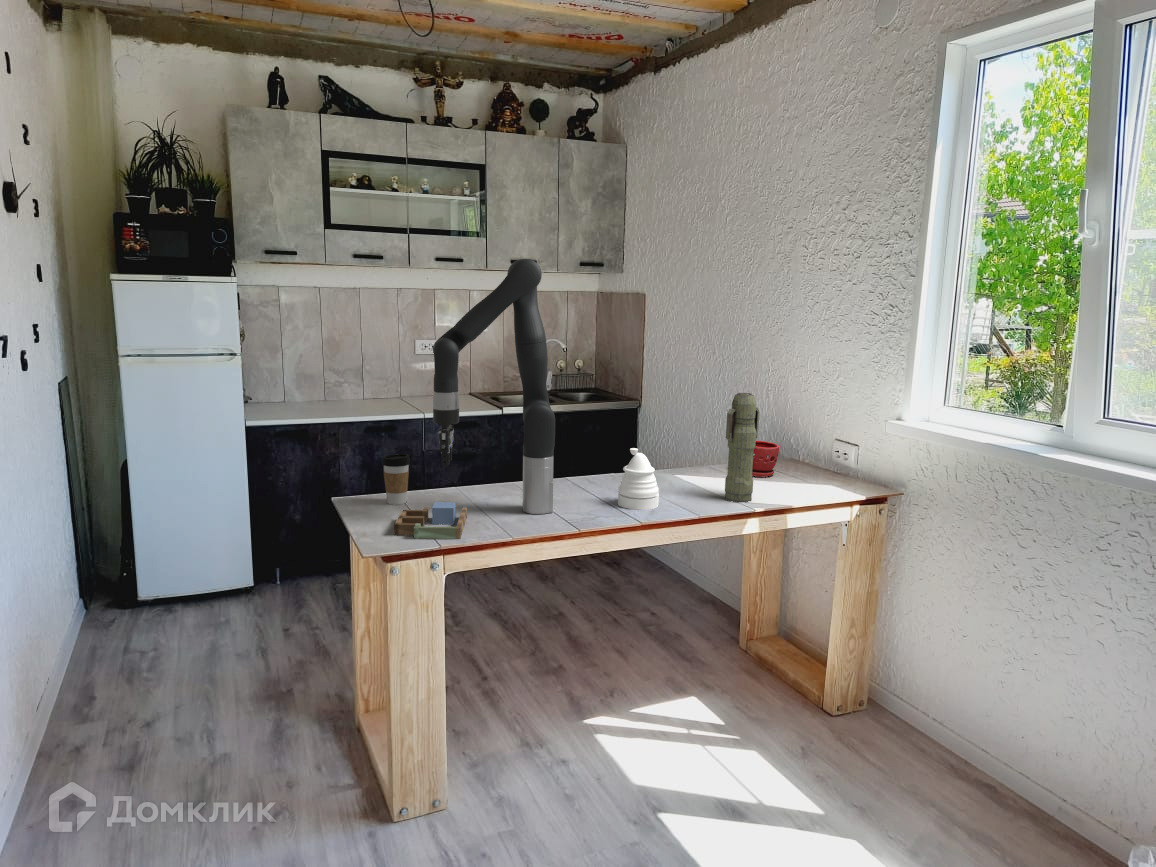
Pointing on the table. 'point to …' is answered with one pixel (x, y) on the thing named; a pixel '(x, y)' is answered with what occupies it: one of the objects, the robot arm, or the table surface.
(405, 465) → the coffee cup
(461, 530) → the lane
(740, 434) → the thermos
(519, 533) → the table surface
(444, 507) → the block
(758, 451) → the plant pot
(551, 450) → the robot arm
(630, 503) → the honey pot
